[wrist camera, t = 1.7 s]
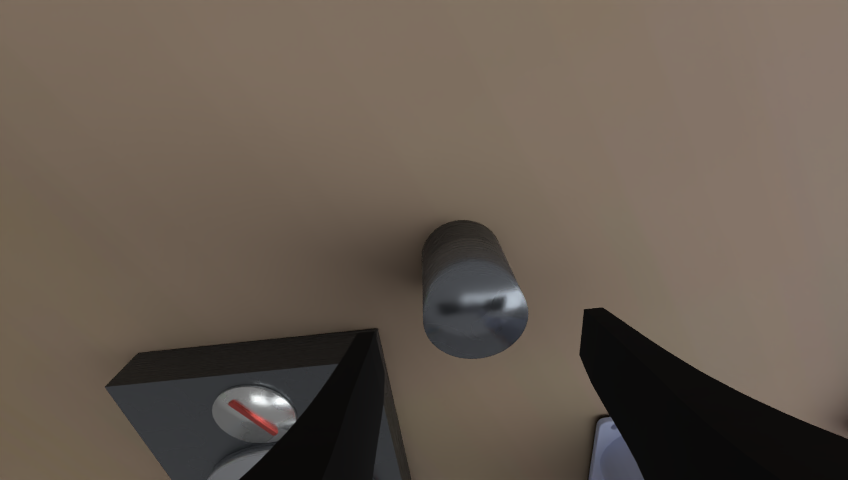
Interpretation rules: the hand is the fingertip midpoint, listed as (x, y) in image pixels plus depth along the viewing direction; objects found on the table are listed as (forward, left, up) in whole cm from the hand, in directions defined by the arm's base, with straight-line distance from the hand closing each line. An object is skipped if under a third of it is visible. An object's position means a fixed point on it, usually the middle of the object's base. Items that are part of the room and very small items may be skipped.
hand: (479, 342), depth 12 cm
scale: (+12, +13, -6) cm, 19 cm away
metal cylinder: (0, 0, -6) cm, 6 cm away
